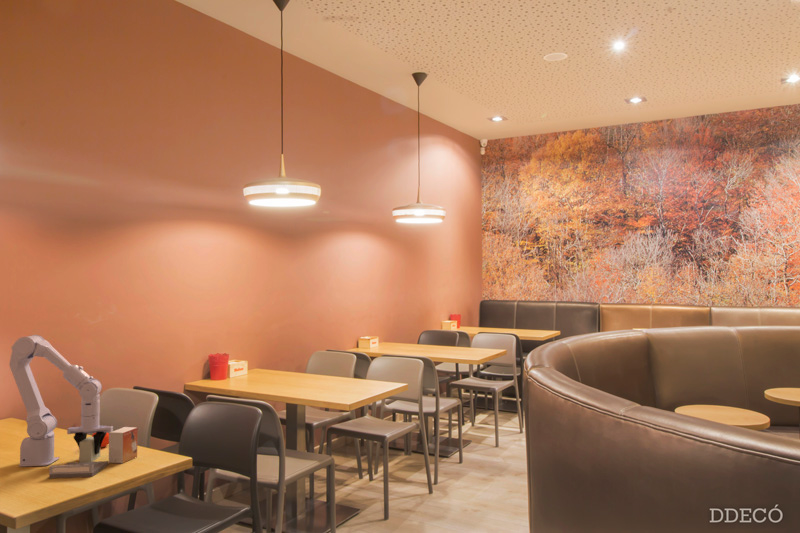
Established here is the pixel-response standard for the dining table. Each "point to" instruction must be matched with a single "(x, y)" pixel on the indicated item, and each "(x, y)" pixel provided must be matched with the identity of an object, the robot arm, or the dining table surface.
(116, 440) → the small box
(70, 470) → the grey square slab
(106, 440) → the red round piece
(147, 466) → the dining table surface
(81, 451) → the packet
